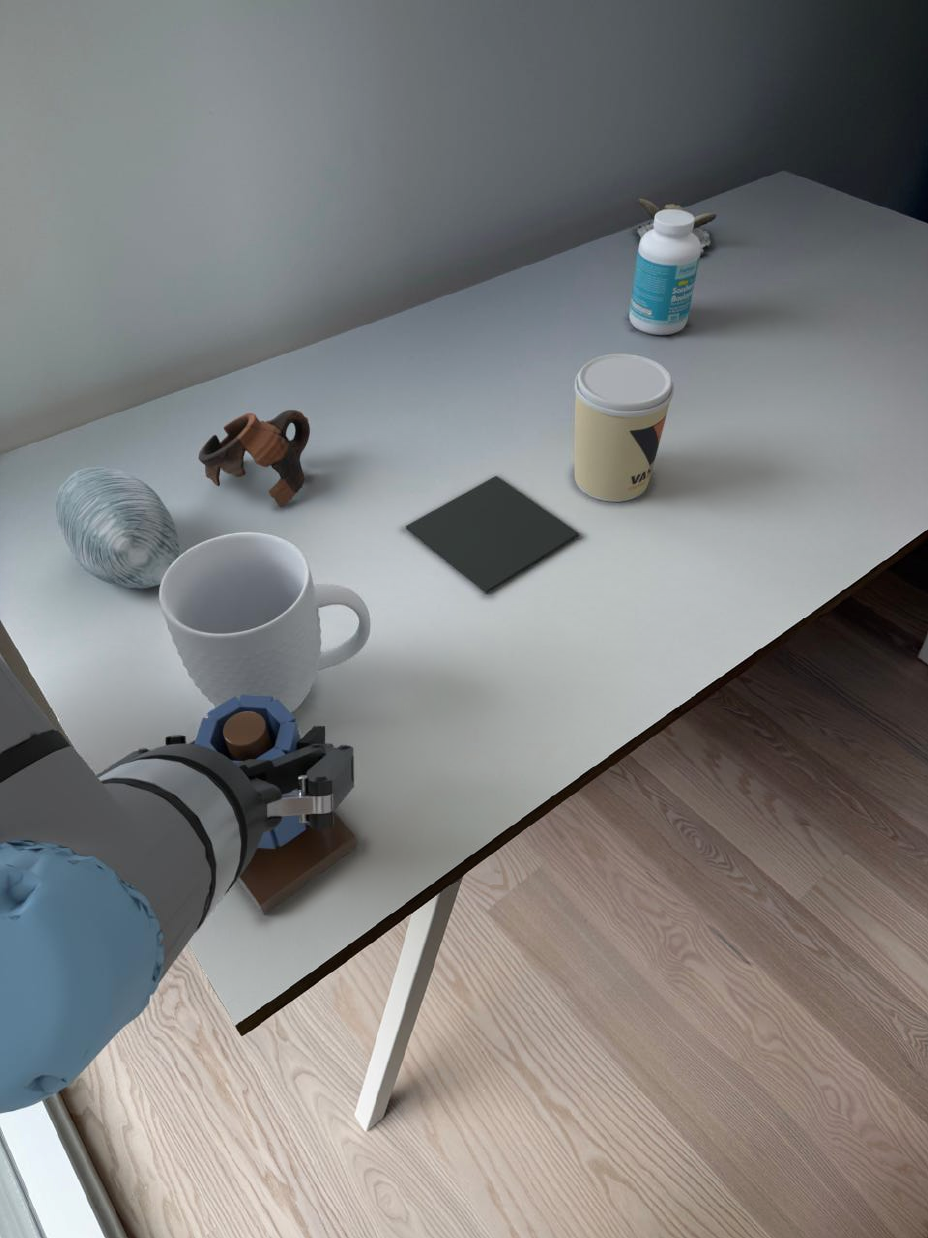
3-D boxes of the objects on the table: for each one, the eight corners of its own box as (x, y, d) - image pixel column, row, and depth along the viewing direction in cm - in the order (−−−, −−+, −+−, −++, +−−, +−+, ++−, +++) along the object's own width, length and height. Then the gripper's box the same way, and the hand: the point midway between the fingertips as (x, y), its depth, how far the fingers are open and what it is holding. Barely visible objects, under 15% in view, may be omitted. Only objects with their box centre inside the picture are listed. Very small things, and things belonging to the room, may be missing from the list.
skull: (730, 247, 129) (730, 191, 122) (676, 283, 128) (673, 228, 121) (675, 217, 136) (672, 162, 129) (623, 250, 135) (617, 197, 127)
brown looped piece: (266, 529, 89) (212, 466, 84) (229, 520, 96) (177, 462, 92) (346, 449, 93) (298, 385, 88) (304, 446, 100) (257, 387, 96)
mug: (365, 623, 79) (350, 511, 70) (389, 720, 72) (375, 609, 63) (195, 656, 77) (155, 544, 67) (202, 760, 70) (158, 650, 60)
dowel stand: (205, 836, 65) (154, 722, 55) (297, 775, 69) (265, 657, 58) (263, 915, 61) (220, 808, 51) (358, 846, 65) (335, 732, 54)
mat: (405, 528, 88) (405, 525, 88) (496, 478, 93) (496, 475, 93) (486, 594, 82) (486, 590, 82) (578, 536, 87) (578, 533, 87)
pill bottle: (674, 343, 111) (693, 235, 101) (619, 328, 114) (632, 222, 104) (695, 317, 116) (715, 211, 106) (641, 303, 118) (656, 199, 108)
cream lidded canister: (641, 517, 89) (659, 415, 80) (553, 493, 92) (561, 391, 83) (667, 464, 95) (686, 363, 86) (584, 443, 97) (594, 343, 88)
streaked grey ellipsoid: (71, 536, 89) (5, 501, 80) (137, 468, 90) (79, 424, 80) (155, 624, 85) (96, 598, 76) (224, 552, 86) (174, 517, 76)
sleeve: (209, 805, 62) (178, 729, 55) (282, 757, 65) (261, 679, 58) (255, 865, 59) (228, 792, 52) (330, 813, 62) (313, 737, 55)
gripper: (-54, 928, 39) (136, 800, 63) (377, 922, 40) (408, 797, 63) (-61, 760, 39) (133, 694, 62) (374, 754, 39) (406, 690, 62)
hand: (271, 746), depth 62 cm, fingers closed on sleeve, 6 cm apart
